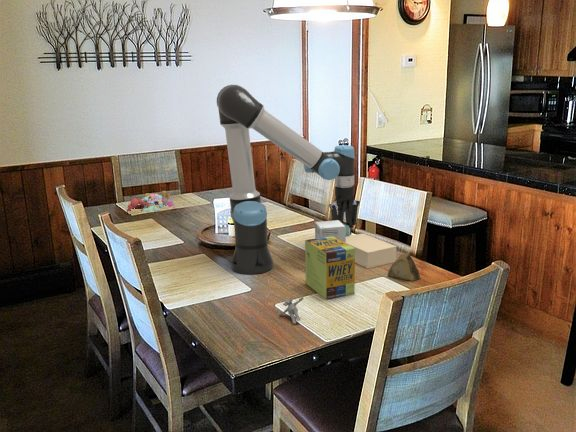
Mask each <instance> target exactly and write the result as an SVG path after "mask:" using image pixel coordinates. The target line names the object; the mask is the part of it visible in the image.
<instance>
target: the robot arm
mask: <svg viewBox="0 0 576 432" xmlns="http://www.w3.org/2000/svg"><path fill="white" fill-rule="evenodd" d="M216 107H217V108H218V115H219V116H218V117H219V118H218V119H219V123H220V125H221V126H222V127H223V129H224V130H225V138H226V139H225V141H226V147H227V154H228V163H229V170H230V171H229V172H230V179H231V187H232V192H231V194H230V195H229V206H230V210H229V211H230V217H231V220H232V223H233V225H234V240H235V244H234V245H235V248H234V249H235V250H234V252H233V255H232V260H231V270H232V271H233V272H236V273H238V274H243V275H256V274H263V273H267V272H269V271H271V270H273V267H274V259H273V256H272V254H271V251H270V249H269V246H268V222H267V221H268V220H267V218H268V211H267V208H266V205H265V204H264V203H262V201H261V200H262V198H261V193H260V192H259V191H258V190H256V183H255V182H256V181H255V175H254V163H253V155H252V148H251V139H250V138H251V137H250V129H252V130H254V131H255V132H257V133H259V134H260V135H261V136H263V137H264V138H265V139H267V140H268V141H270V142H271V143H273V144H274V145H275V146H277V147H278V148H279V149H281V150H283V151H284V152H285V153H286V154H289V156H291V157H293V158H294V159H295V160H297V161H299V162H300V163H301V164H303V170H304V171H305V173H309V174H310V173H311V174H314V173H315V174H317V175H318V176H320V177H321V178H322V179H323V180H327V181H333V180H334V185H335V187H334V196H335V199H334V202H333V203H329V205H328V207H329V209H330V211H331V213H330V214H331V221H334V220H339V221H340V222H341V223H342V224H344V220H345V225H348V226H349V236H352V229H353V228H354V226H356V225H357V218H358V216H357V215H358V210H359V205H360V203H361V202H360V201H359V200H358V199H355V197H354V195H355V160H356V157H355V147H354V146H352V145H347V144H346V145H345V144H342V145H341V144H340V145H336V146H335V147H334V151H322V150H321V149H320V148H319V147H317V146H315V145H314V144H313V143H311V141H310V142H309V141H308V140H307V139H306V138H304V137H303V136H301V134H299V133H298V132H296V131H294V130H293V129H291V128H290V127H289V126H288V125H286V124H285V123H284V122H282V121H281V120H279V119H278V118H276V117H275V116H273V114H271V113H270V112H268V111H267V110H266V109H265V106H264V104H262V103H261V102H260V101H258V100H257V99H256V98H255V97H254V96H253V95H252V94H251V93H250V92H249V91H248V90H247V89H246V88H244V87H242V86H241V85H239V84H229V85H226V86H224V87H222V88H221V89H220V90H219V92H218V93H217V97H216ZM344 217H345V219H344Z"/></svg>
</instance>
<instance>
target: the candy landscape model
mask: <svg viewBox="0 0 576 432" xmlns="http://www.w3.org/2000/svg"><path fill="white" fill-rule="evenodd" d="M171 194H172V193H167V191H166V190H161V195H160V194H158V193H149V192H148V193H147V192H146V193H145V195H144V196H143V198H139V199H137V198H136V197H134V198H131V199H130V202H129V204H128V205H127V209H126V213H127V212H128V211H131V210H130V209H134V208H135V209H142V210H141V212H153V211H156V212H157V211H160V210H161V208H164V205H165V206H167V205H168V206H169V207H171V206H174V204H175V203H174V196H173V195H171ZM138 204H140V205H138ZM149 204H153V205H151V206H149ZM155 205H159V208H158V207H156V206H155ZM143 208H144V209H143Z"/></svg>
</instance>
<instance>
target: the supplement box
mask: <svg viewBox="0 0 576 432" xmlns="http://www.w3.org/2000/svg"><path fill="white" fill-rule="evenodd" d="M343 224H344V223H343ZM343 224H342V223H341V222H340V221H339V220H334V221H332V220H322V221H314V237H315V238H314V239H316V238H324V237H331V236H333V237H335V238H337V239H339V240H341V241H343V242H345V243H346V227H345V226H344V225H343Z"/></svg>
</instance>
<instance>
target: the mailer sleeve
mask: <svg viewBox="0 0 576 432" xmlns="http://www.w3.org/2000/svg"><path fill="white" fill-rule="evenodd" d="M346 244H348V245H350V246H352V247H354V248H355V263H356V264H357V265H359V266H361V267H363V268H366V269H368V270H369V269H371V268H376V267H379V266H380V267H381V266H385V265H388V264H393V263H394V262H395V261H396V260H397V246H396V245H395V244H391V243H389V242H386V241H384V240H380V239H379V238H377V237H376V238H375V237H374V236H371V235H368V234H366V233H358V234H354V235H352V234H351V235H350V236H348V237H346Z"/></svg>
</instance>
